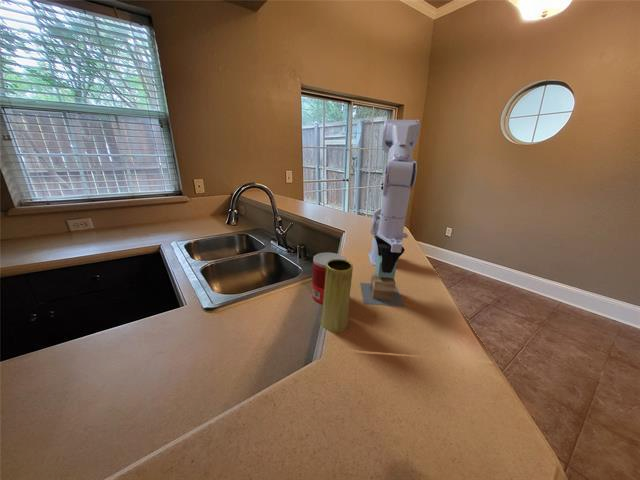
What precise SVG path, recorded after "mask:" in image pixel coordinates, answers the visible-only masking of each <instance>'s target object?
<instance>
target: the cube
mask: <svg viewBox="0 0 640 480" xmlns="http://www.w3.org/2000/svg"><path fill="white" fill-rule="evenodd" d="M397 264H398V263H397V262H396V264H395V266H394V268H393V270H392V272H391V273H384V272H383V271H382V256H378V255H377V262H376V265H375V272H377V275H378V277H387V278H394V279H395V275H396V270H397Z"/></svg>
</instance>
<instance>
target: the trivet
mask: <svg viewBox="0 0 640 480" xmlns="http://www.w3.org/2000/svg"><path fill="white" fill-rule="evenodd" d="M370 284H371V282H369V283H366V282H359V286H360V291H361V296H362V301H363V304H364V305H374V306H375V305H376V306H390V307H403V308H404V307H406V305H405V303H404V301H403V299H402V296H401V294H400V291H399V290H398V287H397V285H396V284H395V289H394V295H393V300H386V299H373V298H372V294H371V290H370Z"/></svg>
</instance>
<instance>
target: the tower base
mask: <svg viewBox="0 0 640 480" xmlns="http://www.w3.org/2000/svg"><path fill="white" fill-rule="evenodd" d="M370 283H371V284H370V290H371V294H372V298H373V299H386V300H393V295H394V291H380V290H374V289H373V285H372V282H371V281H370Z"/></svg>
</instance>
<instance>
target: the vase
mask: <svg viewBox="0 0 640 480" xmlns="http://www.w3.org/2000/svg"><path fill="white" fill-rule="evenodd" d="M353 268H354V266H353V263H352V262H351V261H349V260H347V259H346V260H342V259H333V260H330V261H328V262H327V263H326V276H325V287H324V298H323V305H322V309H321V318H320V325H321V327H322V328H323V329H324V330H326V331H328V332H332V333H341V332H344V331H345V330H347V328H348V327H349V325H350V323H349V321H350V320H349V312H350V310H349V309H350V299H351V298H350V297H351V290H352V289H351V288H352V279H353V270H354V269H353Z"/></svg>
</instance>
